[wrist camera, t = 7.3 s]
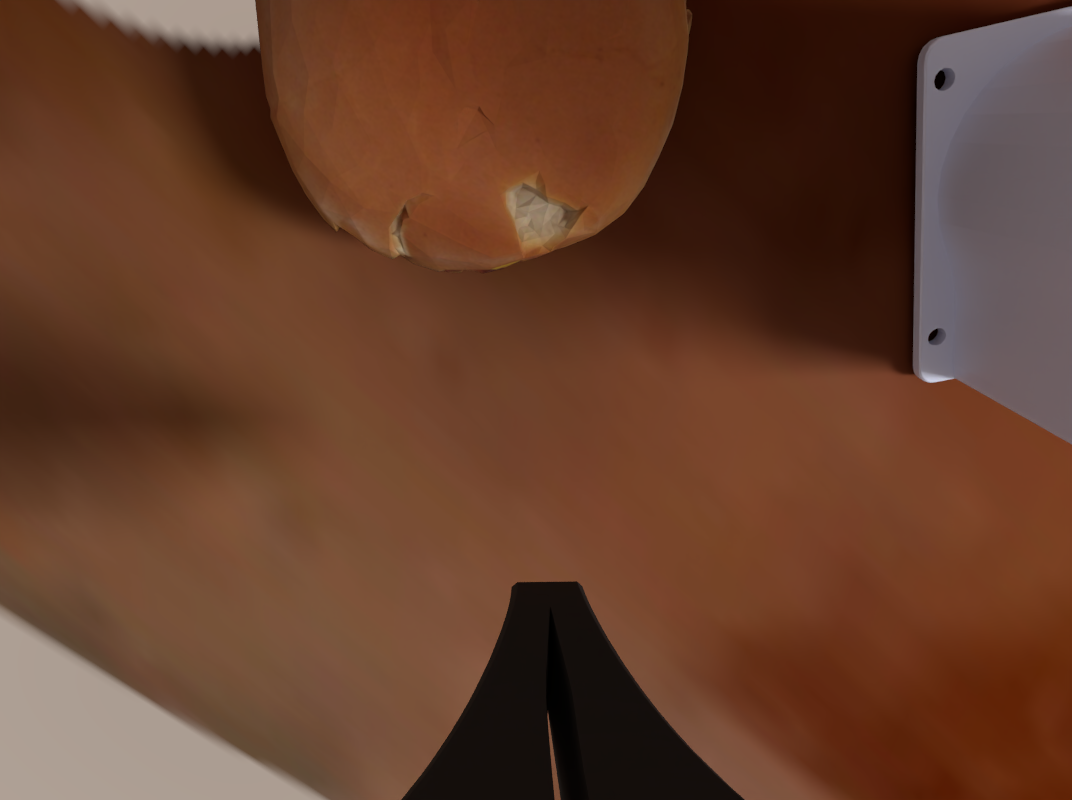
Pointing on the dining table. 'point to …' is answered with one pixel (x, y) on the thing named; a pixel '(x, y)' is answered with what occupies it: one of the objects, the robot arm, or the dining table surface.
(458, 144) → the burger
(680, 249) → the dining table surface
